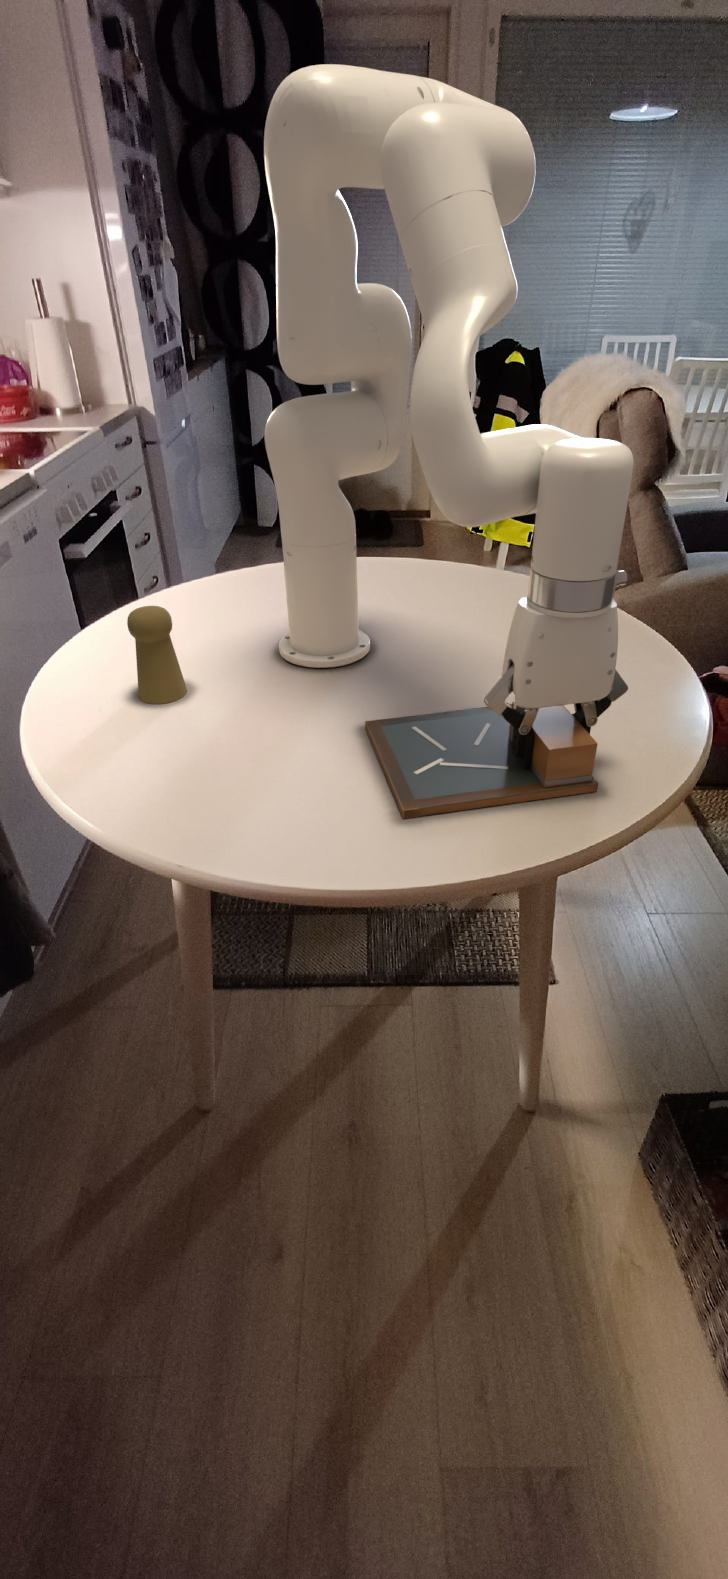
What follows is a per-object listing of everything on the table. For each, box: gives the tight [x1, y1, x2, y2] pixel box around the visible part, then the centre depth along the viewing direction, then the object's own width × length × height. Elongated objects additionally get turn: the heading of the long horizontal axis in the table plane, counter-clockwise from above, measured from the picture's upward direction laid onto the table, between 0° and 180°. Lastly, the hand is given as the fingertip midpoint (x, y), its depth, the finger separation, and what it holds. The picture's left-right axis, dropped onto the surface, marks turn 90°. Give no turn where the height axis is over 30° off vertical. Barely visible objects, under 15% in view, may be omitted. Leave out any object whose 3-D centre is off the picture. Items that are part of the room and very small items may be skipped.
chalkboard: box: [364, 703, 599, 819], centre depth 83 cm, size 18×20×1 cm
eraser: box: [509, 701, 598, 787], centre depth 80 cm, size 10×5×4 cm, turn 11°
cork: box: [126, 605, 188, 705], centre depth 94 cm, size 6×6×11 cm
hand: (548, 756), depth 81 cm, fingers closed on eraser, 5 cm apart
